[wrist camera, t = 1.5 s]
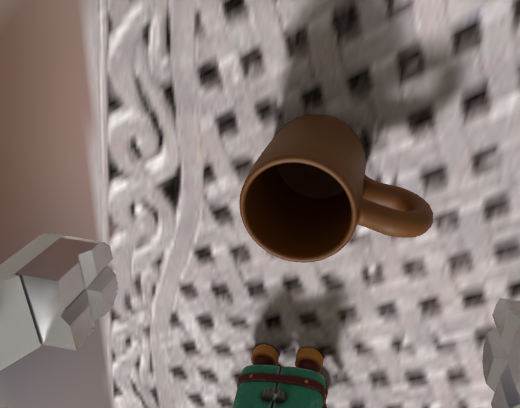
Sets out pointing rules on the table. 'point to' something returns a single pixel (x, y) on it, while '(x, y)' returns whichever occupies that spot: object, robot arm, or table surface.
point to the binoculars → (282, 381)
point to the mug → (322, 193)
